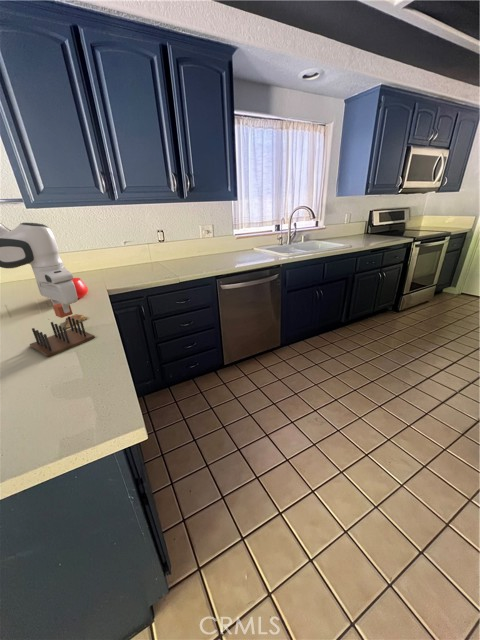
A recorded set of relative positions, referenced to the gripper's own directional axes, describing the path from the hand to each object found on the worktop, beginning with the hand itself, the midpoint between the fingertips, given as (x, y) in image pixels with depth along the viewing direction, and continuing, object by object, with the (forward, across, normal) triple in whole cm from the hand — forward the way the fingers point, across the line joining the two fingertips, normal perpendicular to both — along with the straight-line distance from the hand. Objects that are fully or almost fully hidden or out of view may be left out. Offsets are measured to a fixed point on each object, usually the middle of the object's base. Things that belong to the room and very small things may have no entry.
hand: (63, 311), depth 95 cm
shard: (+12, -14, +9) cm, 20 cm away
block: (+2, 0, 0) cm, 2 cm away
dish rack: (+11, 0, -3) cm, 12 cm away
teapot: (+12, -50, +25) cm, 57 cm away
